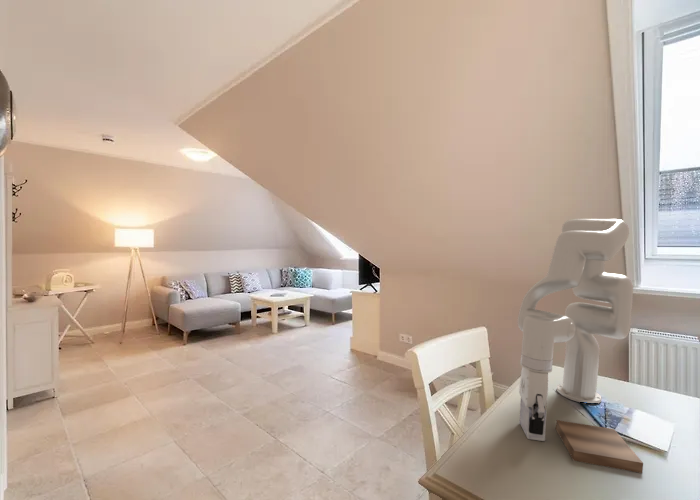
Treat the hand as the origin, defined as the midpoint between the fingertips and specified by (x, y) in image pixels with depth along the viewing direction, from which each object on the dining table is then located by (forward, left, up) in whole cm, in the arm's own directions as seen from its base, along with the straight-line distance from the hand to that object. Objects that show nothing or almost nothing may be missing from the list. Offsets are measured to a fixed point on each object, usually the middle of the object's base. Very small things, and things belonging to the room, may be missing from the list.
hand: (531, 424), depth 94 cm
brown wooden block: (+3, +14, -2) cm, 15 cm away
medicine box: (0, 0, -3) cm, 3 cm away
